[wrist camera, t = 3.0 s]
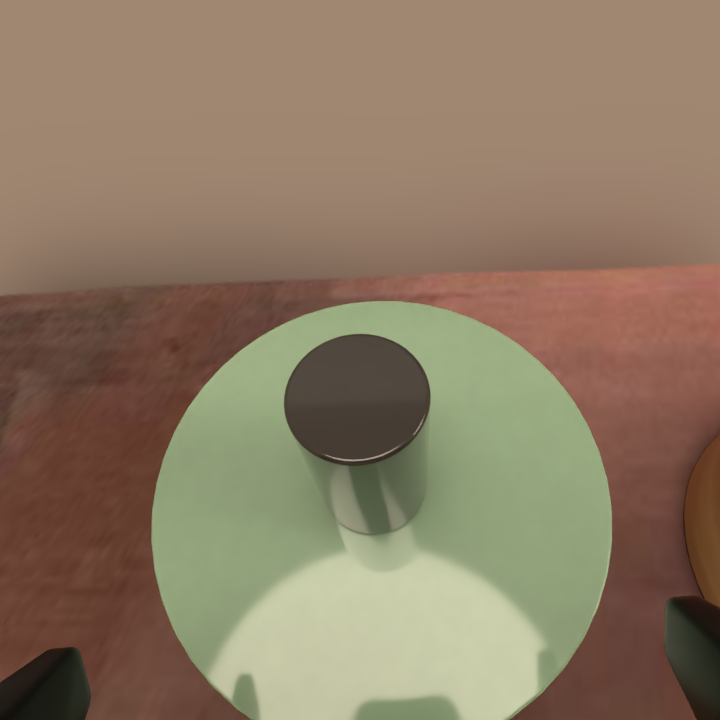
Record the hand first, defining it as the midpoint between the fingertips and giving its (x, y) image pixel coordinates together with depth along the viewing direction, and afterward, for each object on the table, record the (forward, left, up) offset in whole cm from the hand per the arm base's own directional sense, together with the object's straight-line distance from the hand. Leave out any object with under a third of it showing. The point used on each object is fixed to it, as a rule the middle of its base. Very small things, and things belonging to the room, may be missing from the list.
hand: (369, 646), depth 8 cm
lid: (+2, -4, -5) cm, 7 cm away
